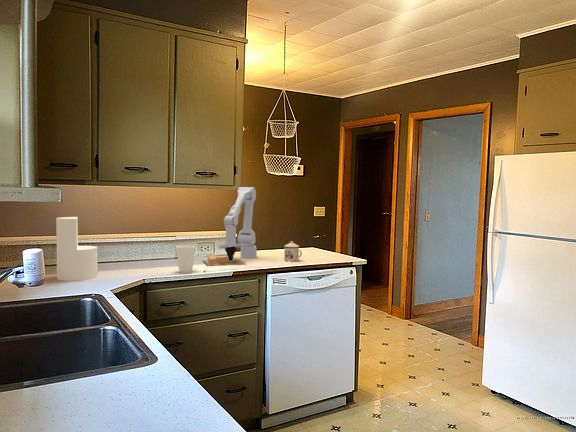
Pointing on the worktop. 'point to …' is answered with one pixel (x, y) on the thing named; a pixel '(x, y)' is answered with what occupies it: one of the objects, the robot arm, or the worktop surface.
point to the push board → (233, 262)
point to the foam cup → (185, 258)
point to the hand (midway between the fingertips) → (230, 260)
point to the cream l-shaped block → (73, 253)
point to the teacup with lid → (292, 252)
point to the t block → (217, 259)
